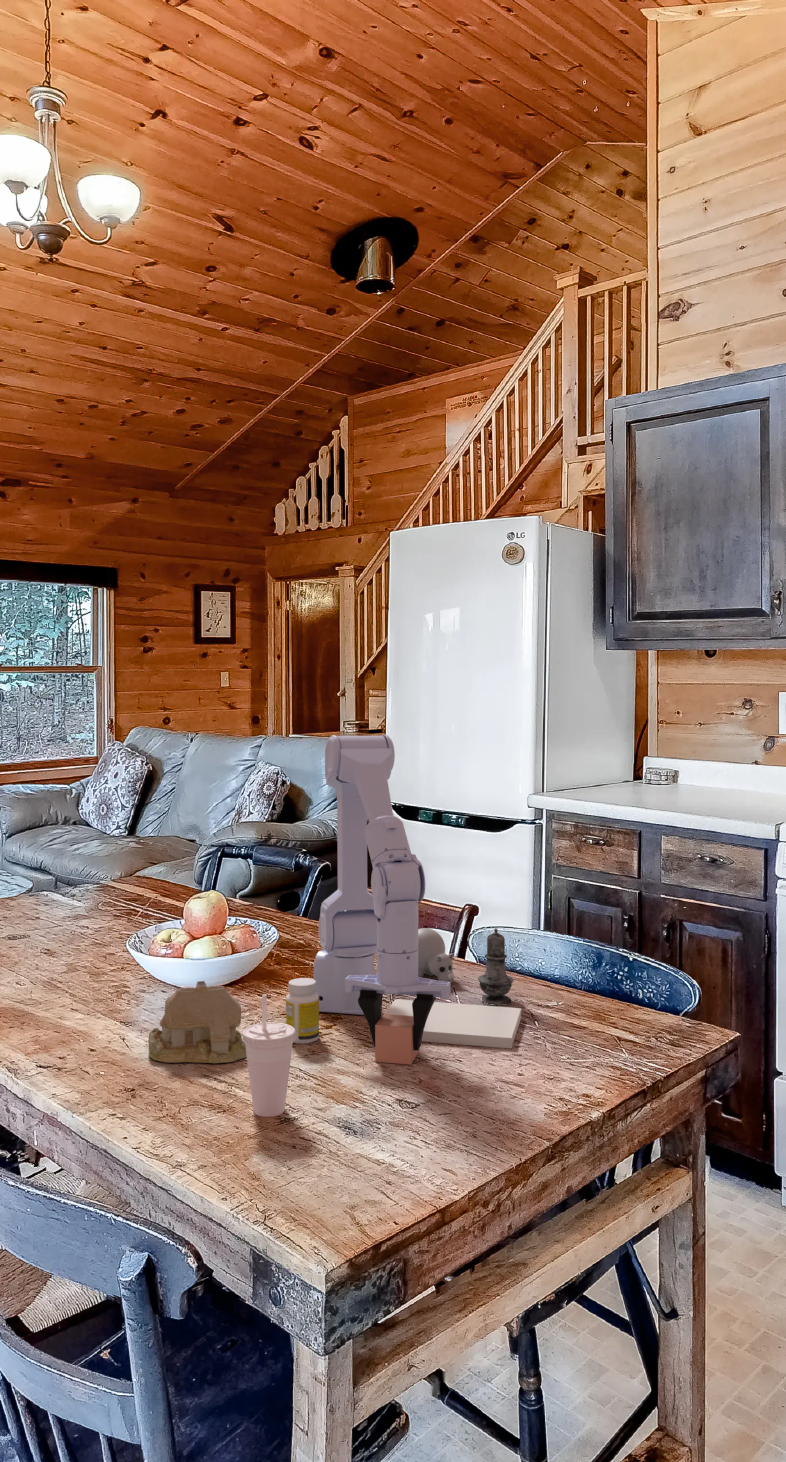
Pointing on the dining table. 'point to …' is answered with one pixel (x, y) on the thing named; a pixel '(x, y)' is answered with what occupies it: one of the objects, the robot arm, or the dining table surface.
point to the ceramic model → (199, 1027)
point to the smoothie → (268, 1063)
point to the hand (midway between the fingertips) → (397, 1046)
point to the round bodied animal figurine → (433, 956)
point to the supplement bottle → (303, 1010)
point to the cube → (395, 1039)
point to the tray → (465, 1023)
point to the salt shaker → (495, 972)
